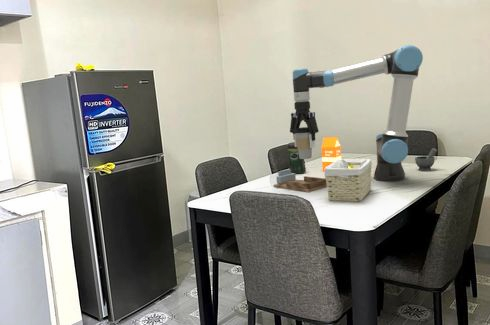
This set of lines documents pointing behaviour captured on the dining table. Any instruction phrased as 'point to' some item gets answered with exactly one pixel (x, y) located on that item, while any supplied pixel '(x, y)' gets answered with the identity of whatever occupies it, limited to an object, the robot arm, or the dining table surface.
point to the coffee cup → (303, 142)
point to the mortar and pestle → (426, 161)
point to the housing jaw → (285, 176)
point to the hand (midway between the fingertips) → (304, 147)
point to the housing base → (304, 184)
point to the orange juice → (330, 151)
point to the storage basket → (348, 179)
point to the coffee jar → (295, 160)
